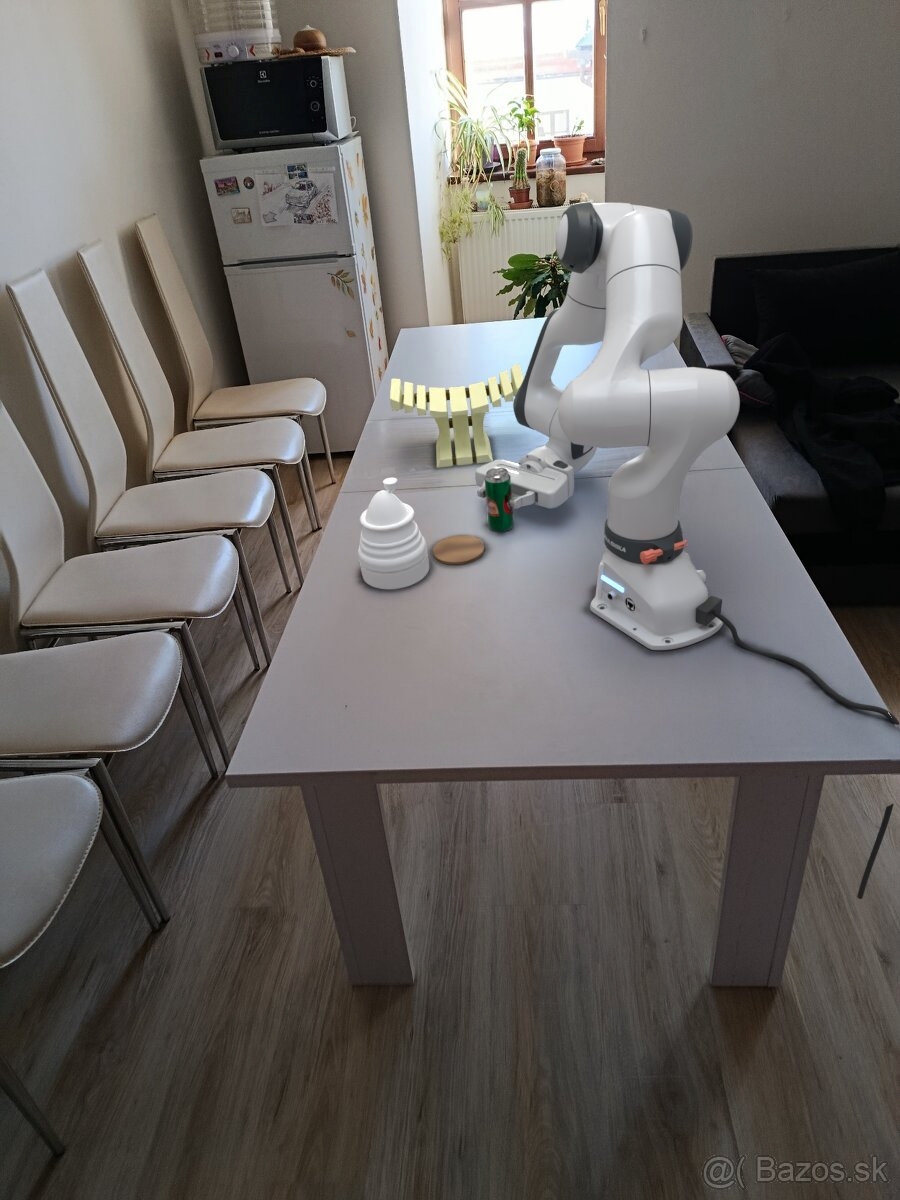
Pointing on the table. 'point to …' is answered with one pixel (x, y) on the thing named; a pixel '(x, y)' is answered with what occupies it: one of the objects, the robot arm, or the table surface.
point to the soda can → (499, 499)
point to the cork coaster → (458, 549)
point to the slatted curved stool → (458, 413)
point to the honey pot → (391, 542)
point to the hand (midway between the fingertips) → (496, 499)
